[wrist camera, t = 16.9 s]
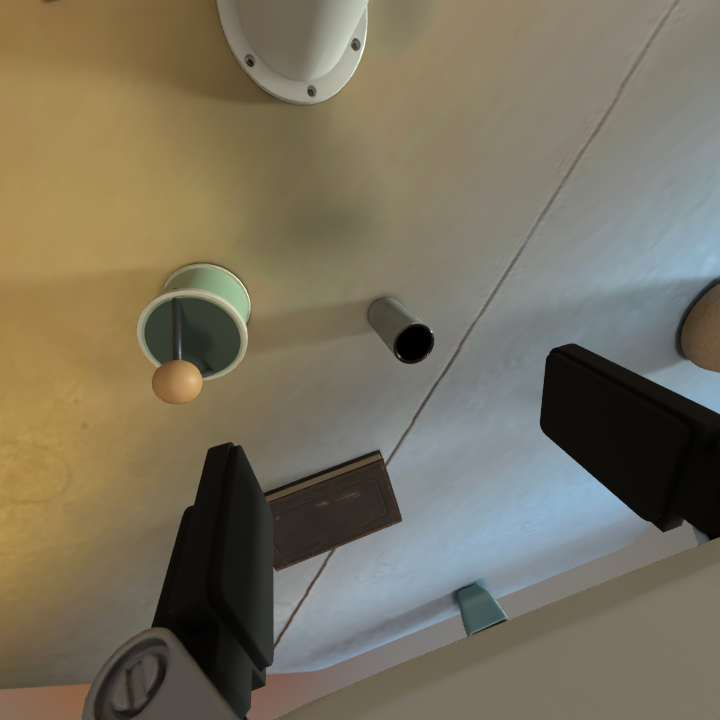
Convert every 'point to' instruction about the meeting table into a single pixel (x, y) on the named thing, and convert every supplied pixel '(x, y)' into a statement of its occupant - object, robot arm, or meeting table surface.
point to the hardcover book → (331, 509)
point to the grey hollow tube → (401, 330)
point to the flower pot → (479, 609)
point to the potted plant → (703, 331)
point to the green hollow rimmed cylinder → (194, 330)
